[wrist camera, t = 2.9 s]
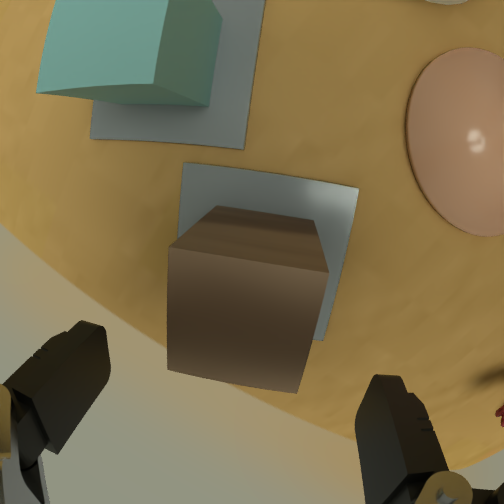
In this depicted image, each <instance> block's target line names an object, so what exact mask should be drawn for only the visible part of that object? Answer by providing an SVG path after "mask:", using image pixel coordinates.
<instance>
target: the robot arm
mask: <svg viewBox="0 0 504 504" xmlns="http://www.w3.org/2000/svg"><path fill="white" fill-rule="evenodd" d="M110 372H111V364H110V357H109V351H108V343H107V335H106V330H105V328H104V327H103V326H100V325H97V324H93V323H90V322H86V321H83V320H81V321H79V322H78V323H77V324H76V325H74V326H73V327H72V328H71V329H70V330H69V331H68V332H66V331H64V332H62V333H60V334H58V335H56V336H54V337H52V338H50V339H49V340H48V341H47V342H46V343H45V344H44V345H43V346H42V347H41V349H38V351H36V352H35V353H34V354H33V357H30V358H29V359H28V360H27V361H26V362H25V363H24V364H23V365H22V366H21V367H20V368H19V369H18V370H16V371H15V372H14V374H12V375H11V376H10V377H9V378H8V379H7V380H6V382H4V383H3V384H0V504H50V501H49V496H48V491H47V487H46V481H45V475H44V468H43V462H42V457H41V455H40V454H41V453H42V451H43V450H44V448H45V449H47V450H49V451H51V452H53V453H55V454H59V452H60V450H61V449H62V448H63V446H64V445H65V443H66V441H67V440H68V439H69V437H70V436H71V434H72V433H73V431H74V430H75V428H76V427H77V425H78V424H79V422H80V421H81V420H82V418H83V417H84V415H85V414H86V412H87V411H88V409H89V408H90V407H91V405H92V404H93V402H94V401H95V399H96V398H97V396H98V395H99V394H100V392H101V391H102V389H103V388H104V386H105V385H106V384H107V382H108V380H109V376H110ZM355 433H356V439H357V445H358V452H359V459H360V465H361V472H362V479H363V486H364V495H365V502H366V504H504V483H503V484H502V485H501V486H500V487H499V488H498V489H496V490H483V489H473V488H471V486H470V484H469V483H468V481H467V480H466V479H465V478H464V477H463V476H461V475H459V474H457V473H455V472H451V471H449V469H448V466H447V463H446V461H445V458H444V455H443V452H442V450H441V447H440V444H439V442H438V439H437V436H436V434H435V431H433V426H432V423H431V421H430V420H429V416H428V413H427V411H426V409H425V406H424V404H423V403H422V402H421V401H420V400H419V399H418V398H417V397H416V395H415V394H414V393H407V390H406V388H405V385H404V383H403V380H402V378H401V377H400V376H395V375H378V374H376V375H374V376H373V378H372V380H371V382H370V384H369V387H368V389H367V391H366V393H365V396H364V398H363V400H362V402H361V404H360V407H359V409H358V411H357V414H356V419H355Z"/></svg>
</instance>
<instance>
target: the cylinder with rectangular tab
mask: <svg viewBox="0 0 504 504" xmlns="http://www.w3.org/2000/svg"><path fill="white" fill-rule="evenodd" d="M426 1H429V2H432V3H439V4H445V5H453V4H462V3H464V2H466V1H468V0H426Z"/></svg>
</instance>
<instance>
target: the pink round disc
mask: <svg viewBox="0 0 504 504" xmlns="http://www.w3.org/2000/svg"><path fill="white" fill-rule="evenodd" d="M405 128H406V143H407V150H408V155H409V159H410V163H411V167H412V170H413V172H414V175H415V178H416V180H417V182H418V184H419V186H420V188H421V191H422V192H423V194H424V195H425V197H426V199H427V200H428V202H429V203H430V204H431V205H432V207H433V208H434V209H435V210H436V211H437V212H438V213H439V214H440V215H441V216H442V217H443V218H444V219H445V220H447V221H448V222H449V223H451V224H452V225H454V226H456V227H457V228H459V229H461V230H463V231H465V232H467V233H470V234H473V235H478V236H497V235H502V234H504V59H503V58H501V57H500V56H498V55H496V54H494V53H492V52H489V51H486V50H483V49H479V48H470V47H468V48H458V49H454V50H451V51H448V52H446V53H444V54H442V55H440V56H438V57H437V58H435V59H434V60H433V61H431V62H430V63H429V64H428V65H427V66H426V67H425V68H424V69H423V71H422V72H421V74H420V75H419V77H418V78H417V80H416V82H415V84H414V86H413V88H412V91H411V94H410V97H409V101H408V106H407V112H406V125H405Z"/></svg>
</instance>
